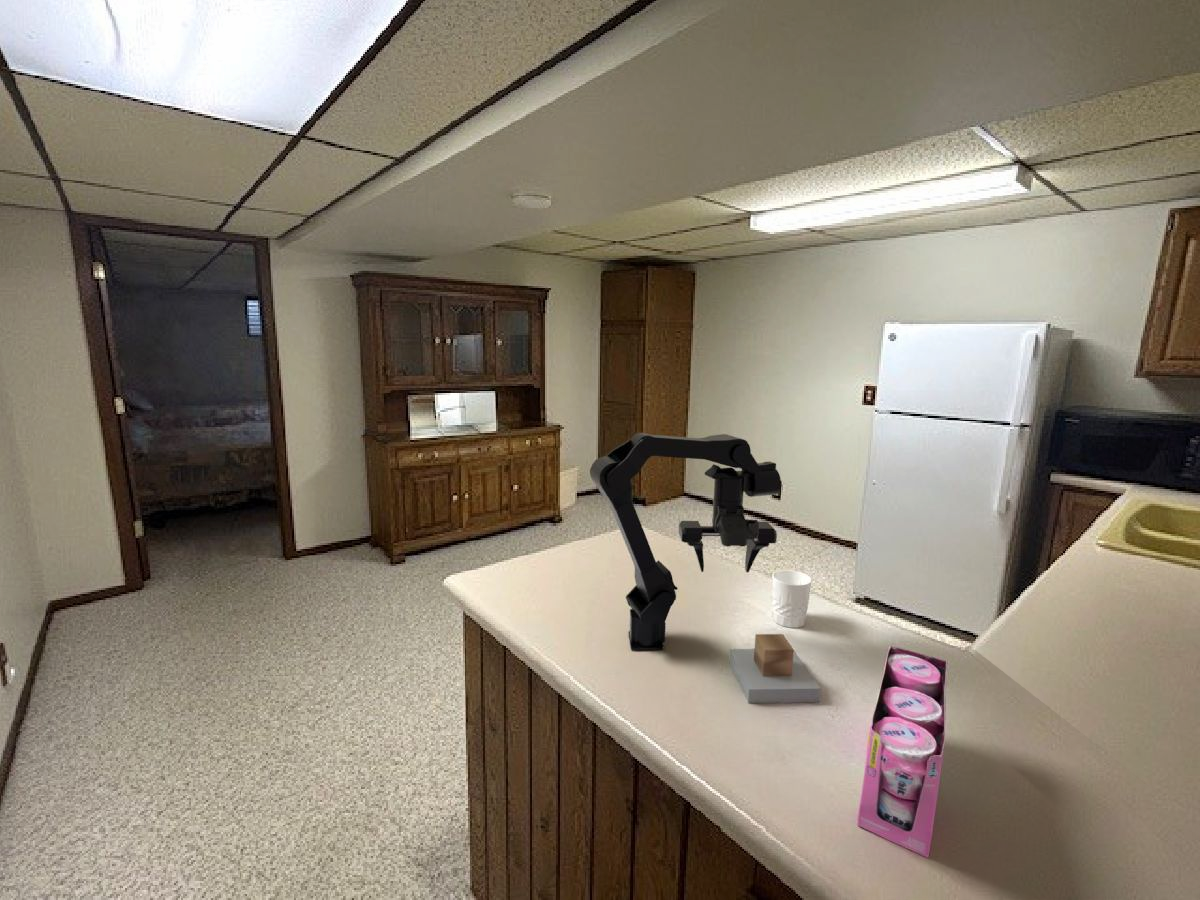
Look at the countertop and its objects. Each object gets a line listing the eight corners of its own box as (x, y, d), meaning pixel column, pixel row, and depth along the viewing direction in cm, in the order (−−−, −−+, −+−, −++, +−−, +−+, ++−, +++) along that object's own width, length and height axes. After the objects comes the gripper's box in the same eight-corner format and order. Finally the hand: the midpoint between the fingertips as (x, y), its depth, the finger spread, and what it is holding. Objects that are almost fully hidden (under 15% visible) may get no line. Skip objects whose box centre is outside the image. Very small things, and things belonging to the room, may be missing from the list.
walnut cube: (762, 676, 91) (764, 649, 90) (753, 659, 96) (755, 634, 95) (791, 675, 91) (793, 649, 90) (781, 659, 96) (783, 634, 95)
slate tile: (748, 702, 88) (749, 689, 88) (729, 661, 100) (729, 648, 99) (819, 701, 88) (820, 688, 88) (792, 660, 100) (793, 648, 100)
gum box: (930, 870, 60) (945, 766, 57) (853, 835, 64) (864, 736, 62) (937, 742, 79) (949, 660, 77) (878, 722, 84) (887, 643, 81)
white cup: (810, 631, 110) (814, 586, 109) (771, 627, 112) (774, 583, 110) (804, 613, 118) (807, 571, 116) (767, 609, 120) (770, 568, 118)
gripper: (687, 509, 98) (684, 588, 101) (788, 510, 98) (782, 589, 101) (679, 493, 109) (677, 565, 112) (770, 494, 109) (765, 565, 112)
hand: (724, 571), depth 109 cm, fingers open, 9 cm apart
